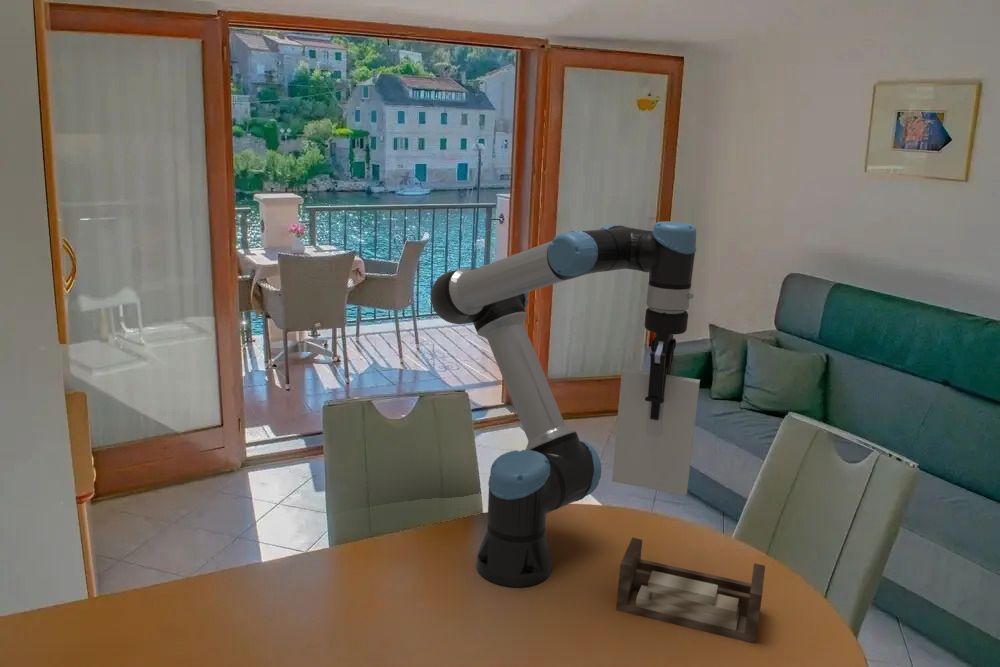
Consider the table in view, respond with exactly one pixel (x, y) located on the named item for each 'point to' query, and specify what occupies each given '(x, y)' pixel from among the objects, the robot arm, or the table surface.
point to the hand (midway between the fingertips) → (654, 432)
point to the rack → (640, 571)
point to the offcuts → (688, 600)
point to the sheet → (649, 455)
